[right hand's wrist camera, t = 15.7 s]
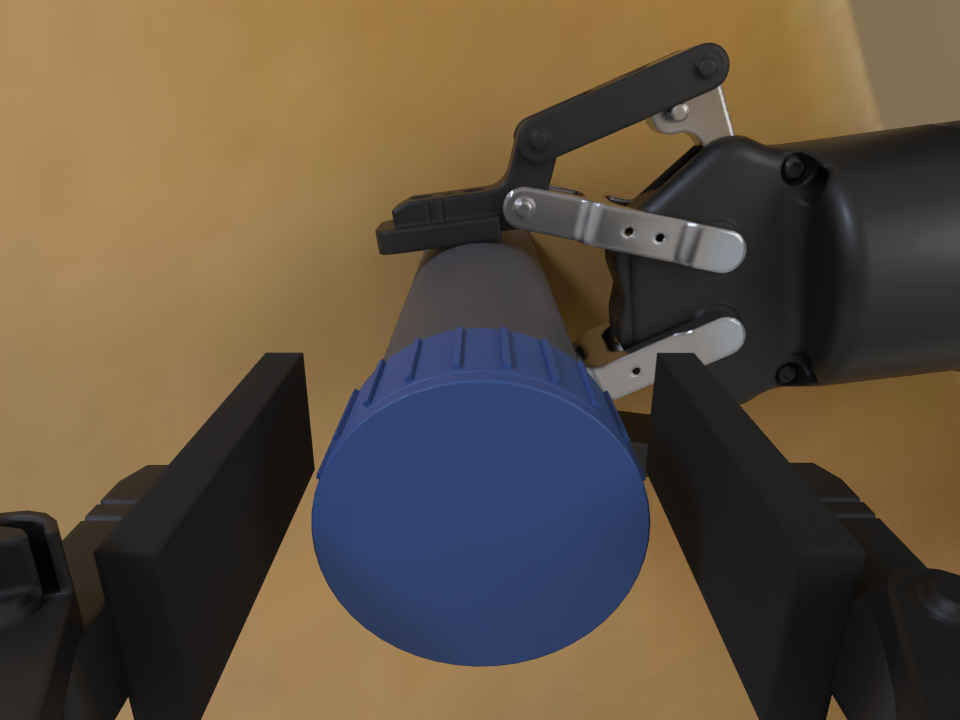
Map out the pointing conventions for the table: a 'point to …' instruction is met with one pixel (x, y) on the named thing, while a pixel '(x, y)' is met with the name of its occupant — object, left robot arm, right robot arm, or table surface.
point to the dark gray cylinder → (481, 294)
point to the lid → (480, 501)
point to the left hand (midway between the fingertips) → (398, 317)
